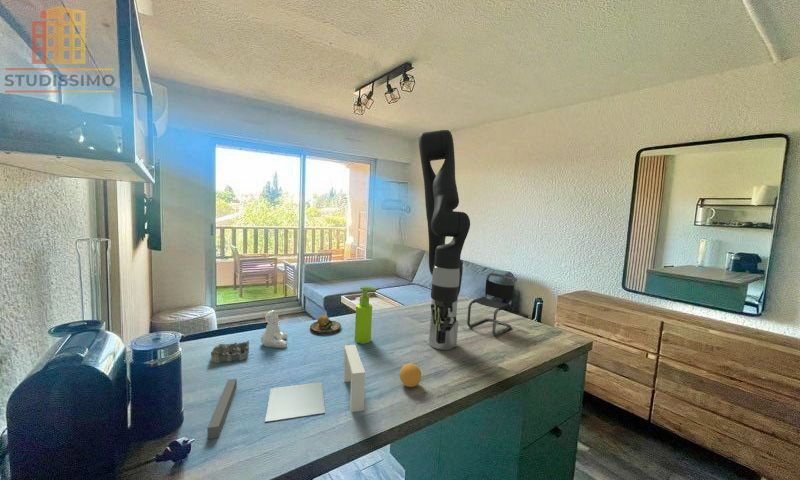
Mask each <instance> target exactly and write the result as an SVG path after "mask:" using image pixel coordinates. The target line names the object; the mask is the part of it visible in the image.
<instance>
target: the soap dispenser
mask: <svg viewBox="0 0 800 480" xmlns="http://www.w3.org/2000/svg"><path fill="white" fill-rule="evenodd" d="M376 289H377V288H375V287H372V286H361V287H360V290H361V295H359V303H357V304H356V305H355V323H354V325H355V326H354V341H355V343H357V344H364V345H365V344H368V343H370V342H371V340H372V325H373V324H372V323H373V319H372V317H373V305H372V304H371V303H370V295H368V291H372V292H375V291H376Z"/></svg>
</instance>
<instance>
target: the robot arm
mask: <svg viewBox="0 0 800 480" xmlns="http://www.w3.org/2000/svg"><path fill="white" fill-rule="evenodd" d="M454 144H455V143H454V138H453V135H452V132H451V131H450V130H449V129H441V130H434V131H424V132H421V133H420V134H419V137H418V148H419V150H418V151H419V155H420V162H421V170H422V176H423V177H422V178H423V185H424V200H425V202H424V203H425V204H424V205H425V212H426V213H425V214H426V220H427V232H428V233H427V235H428V268H429V272H430V274H431V276H432V277H431V289H430V298H431V304H430V324H429V336H428V344H429V346H430V347H432V348H433V349H437V350H439V351H440V350H442V351H449V350H452V349H454V348H457V343H458V333H459V332H458V331H459V321H458V320H457V314H458V313H457V311H458V300H459V294H460V292H461V287H462V281H463V272H464V271H463V268H464V266H463V262H462V260H461V256H462V255H461V254H462V250H463V248H464V245H465V241H466V239H467V236H468V234H469V232H470V228H471V220H470V216H469V215H468V214H467V213H466V212H464V211H454V210H455V209H457V207H458V206H459V205H460V198H459V192H458V187H457V182H456V159H455V157H456V156H455V147H454V146H455V145H454ZM440 160H444V162H443V164H442V166H441V167H440V169H439V170H438V172H437V173H435V171H434V169H433V167H432V161H433V162H434V161H440ZM447 237H450V238H451V237H452V239H451V241H450V242H449V243H446V238H447Z"/></svg>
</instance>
